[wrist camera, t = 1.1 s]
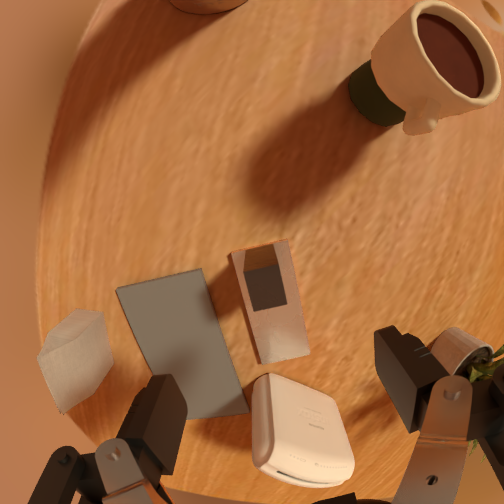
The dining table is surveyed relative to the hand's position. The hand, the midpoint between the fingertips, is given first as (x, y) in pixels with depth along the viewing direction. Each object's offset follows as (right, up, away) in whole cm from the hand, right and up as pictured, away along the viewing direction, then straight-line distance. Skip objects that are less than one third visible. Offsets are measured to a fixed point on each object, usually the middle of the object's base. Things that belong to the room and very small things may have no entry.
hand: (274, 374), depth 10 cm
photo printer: (+4, -11, +20) cm, 23 cm away
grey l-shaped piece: (+1, 0, +17) cm, 17 cm away
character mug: (+11, +19, +12) cm, 25 cm away
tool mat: (-8, -6, +18) cm, 21 cm away
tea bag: (-19, -5, +18) cm, 27 cm away
